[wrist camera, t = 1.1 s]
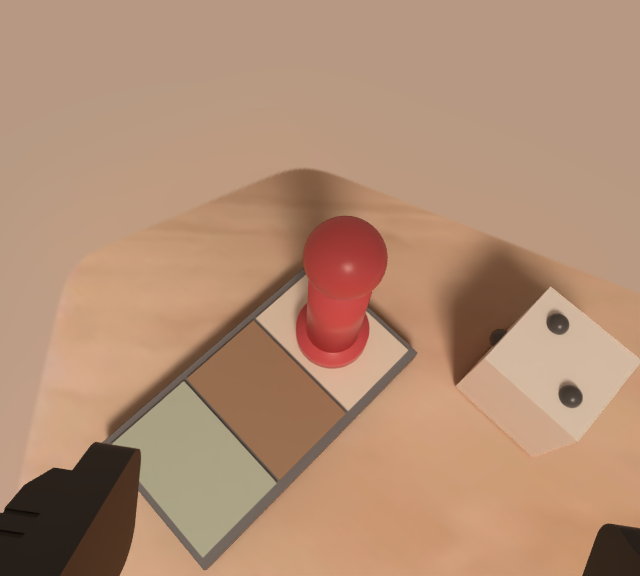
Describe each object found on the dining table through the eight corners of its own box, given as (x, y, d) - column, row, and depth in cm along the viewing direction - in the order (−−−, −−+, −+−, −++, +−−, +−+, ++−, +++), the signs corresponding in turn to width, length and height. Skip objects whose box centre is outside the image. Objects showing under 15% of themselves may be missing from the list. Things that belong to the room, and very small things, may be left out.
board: (314, 266, 38) (315, 256, 37) (413, 358, 36) (418, 351, 35) (106, 447, 33) (99, 443, 32) (207, 569, 31) (203, 570, 30)
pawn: (331, 287, 36) (347, 176, 25) (381, 334, 35) (422, 239, 24) (281, 333, 35) (274, 236, 24) (331, 383, 34) (349, 306, 23)
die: (505, 317, 37) (546, 274, 31) (588, 388, 36) (648, 357, 30) (447, 379, 36) (478, 347, 30) (532, 457, 34) (583, 439, 28)
